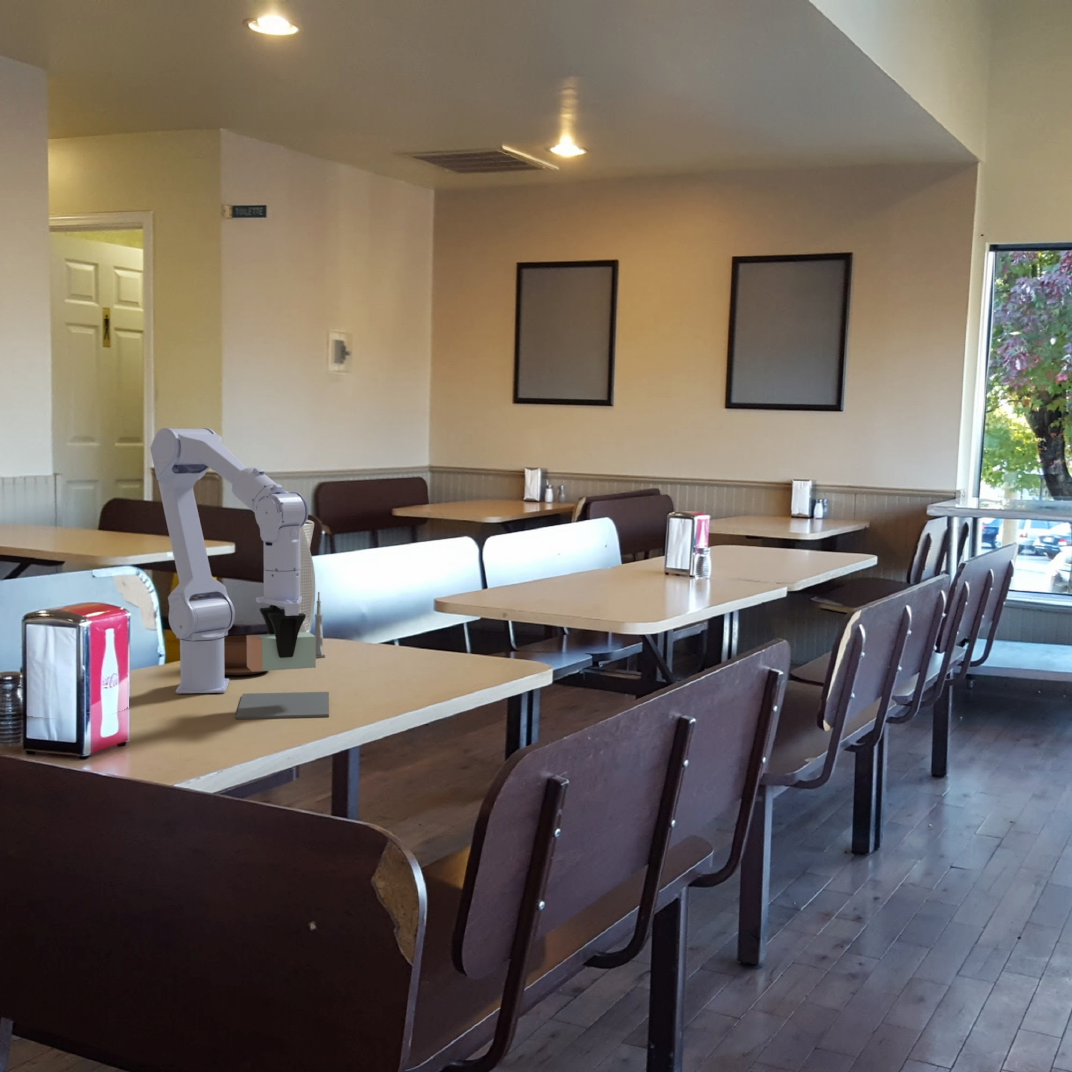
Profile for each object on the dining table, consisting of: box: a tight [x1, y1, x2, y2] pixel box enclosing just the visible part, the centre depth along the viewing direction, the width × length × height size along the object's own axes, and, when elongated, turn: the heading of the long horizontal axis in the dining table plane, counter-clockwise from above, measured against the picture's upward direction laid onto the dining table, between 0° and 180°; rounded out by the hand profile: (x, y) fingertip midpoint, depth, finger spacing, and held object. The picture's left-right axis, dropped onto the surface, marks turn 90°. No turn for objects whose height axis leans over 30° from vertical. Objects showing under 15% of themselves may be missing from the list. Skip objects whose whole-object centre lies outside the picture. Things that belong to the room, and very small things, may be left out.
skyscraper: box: [299, 519, 326, 659], centre depth 236 cm, size 8×8×28 cm
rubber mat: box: [235, 691, 330, 720], centre depth 195 cm, size 16×14×1 cm
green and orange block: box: [246, 631, 317, 672], centre depth 194 cm, size 10×4×5 cm, turn 114°
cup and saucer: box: [224, 635, 265, 677], centre depth 221 cm, size 12×12×6 cm
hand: (282, 654), depth 194 cm, fingers closed on green and orange block, 4 cm apart
